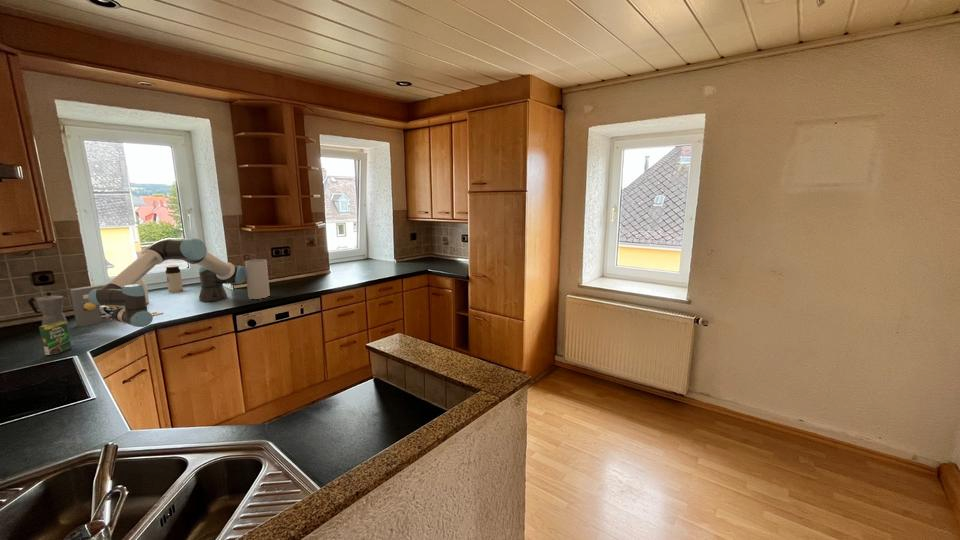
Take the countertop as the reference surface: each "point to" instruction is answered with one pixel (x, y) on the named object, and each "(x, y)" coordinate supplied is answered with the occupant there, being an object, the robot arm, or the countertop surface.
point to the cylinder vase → (257, 278)
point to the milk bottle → (144, 289)
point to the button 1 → (88, 305)
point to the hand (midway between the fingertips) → (101, 308)
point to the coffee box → (55, 337)
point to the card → (156, 313)
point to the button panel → (85, 315)
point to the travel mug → (174, 278)
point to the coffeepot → (49, 308)
